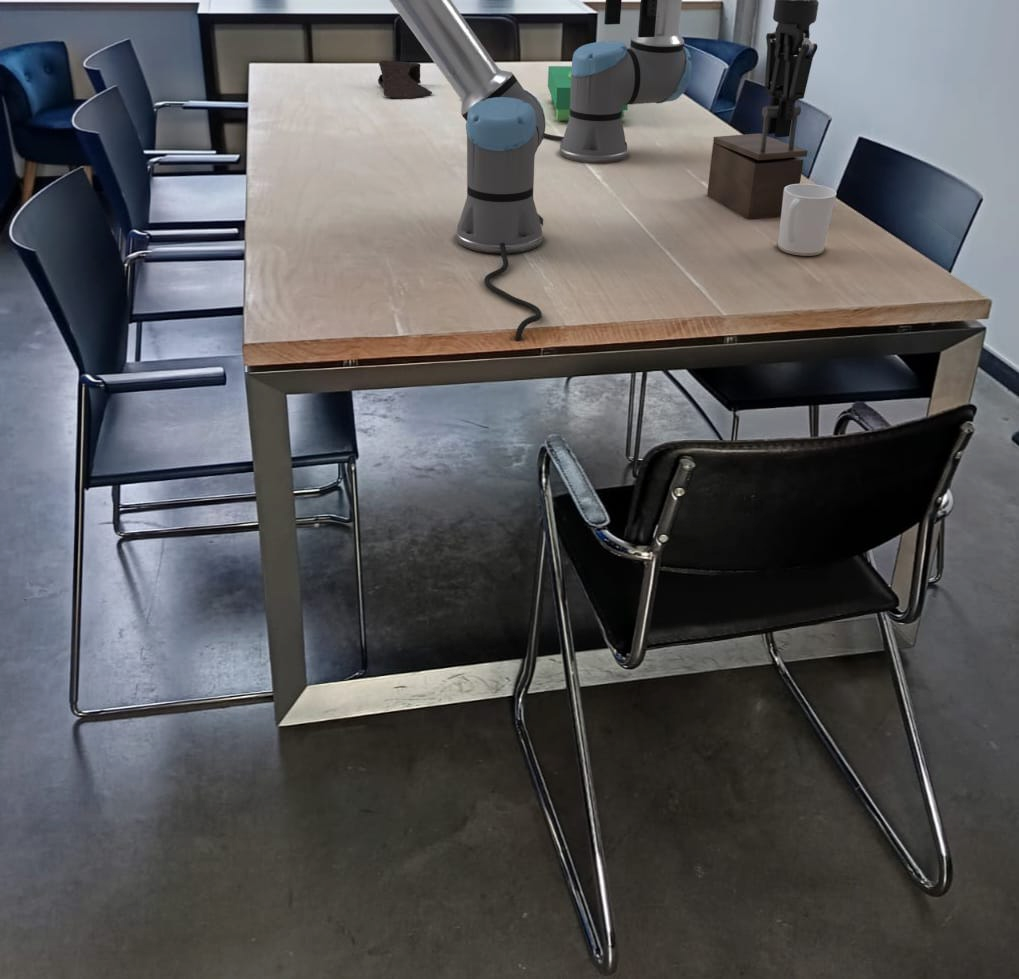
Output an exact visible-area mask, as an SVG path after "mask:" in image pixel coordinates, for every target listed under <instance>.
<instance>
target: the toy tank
mask: <svg viewBox="0 0 1019 979" xmlns="http://www.w3.org/2000/svg"><path fill="white" fill-rule="evenodd" d="M571 68H572V65H569V66H568V65H567V66H565V65H548V72H547V88H548V91H549V94H550V100H551V103H553V105H554V108H555V117H556V118H555V119H556V121H558V122H561V121H562V122H563V121H564V122H565V121H566V122H568V121H569V116H570V93H571ZM628 106H629V105H623V107H622V121H624V113H625V111H628Z"/></svg>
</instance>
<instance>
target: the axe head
mask: <svg viewBox="0 0 1019 979" xmlns="http://www.w3.org/2000/svg"><path fill="white" fill-rule="evenodd" d="M378 66H379V68H380V72H381V74H379V75H378V79H377V84H378V85H379V86H380V87H381V88H382V89H383V95H384V96H385V97H388V98H394V99H395V98H396V99H403V98H405V99H406V98H407V99H411V98H418V97H425V96H429V95H432V94H433V91H431V90H430V89H428V88H427V87H425V86H422V85H421V84H422V82H421V63H419V62H410V61H408V62H407V61H397V60H388V59H387V60H380V61H379V62H378Z"/></svg>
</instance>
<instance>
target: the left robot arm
mask: <svg viewBox="0 0 1019 979" xmlns="http://www.w3.org/2000/svg"><path fill="white" fill-rule="evenodd" d="M389 1H390V4H392V6H393V8H395V10H396V12H397V13H398V14H399V16H400V17H401V18H402V19H403V21H404V22H405V24H406V26H408V28H409V29H410V31H411V32H412V33H413V34H414V36H415V37H416V39H417V41H418V42H419V43H420V44H421V46H422V47H423V49H424V50H425V52H426V53H427V55H428V56H429V57H430V59H431V60H432V62H433V63H434V65H436V67H437V68H438V70H439V71H440V73H441V74H442V75H443V77H444V78H445V80H446V81H447V82H448V84H449V85H450V86H451V87H452V90H454V92H455V93H456V95H457V96H458V97H459V98H460V101H461V106H460V115H461V116H462V117H463V119H464V120H465V122H466V123H465V130H466V192H467V193H466V198H465V202H464V205H463V209H462V211H461V214H460V218H459V220H458V224H457V228H456V241H457V243H458V244H459V245H461V246H462V247H464V248H466V249H468V250H470V251H475V252H479V253H486V254H497V255H499V254H500V256H501V261H502V265H501V267H500V268H498V269H496V270H494V271H492V272H490V273H488V274H487V275H485V276H484V280H483V283H484V285H485V287H486V288H487V289H488V290H489V291H491V292H493V293H495V294H496V295H498V296H500V297H502V298H503V299H505V300H507V301H509V302H510V303H514V304H516V305H518V306H521V307H523V308H527V309H528V310H531V311H532V312H533V313H534V315H531V316H528V317H527V318H525V319H524V320H522V321H521V322H520V323H519V325H518V326H517V329H516V331H515V336H514V341H515V342H521V340H522V336H523V332H524V330H525V328H526V327H527V326H528V325H530V324H532V323H535V322H538V321H539V320H540V319H542V316H543V313H542V311H541V309H540V308H539V306H537V305H535V304H533V303H532V302H529V301H526V300H523V299H520V298H519V297H515V296H514V295H511V294H509V293H507V292H506V291H504V290H502V289H500V288H498V287H496V286H495V285H493V284H492V283H491V280H492V279H494V278H495V277H497V276H500V275H502V274H504V273H505V272H506V271H507V270H508V268H509V258H508V256H507V255H508V254H517V253H524V252H527V251H530V250H533V249H536V248H538V247H539V246H540V245H541V244H542V243H543V229H542V227H543V226H544V218H543V217H542V216H541V215H540V214H539V212H538V210H537V206H536V204H535V199H534V184H535V181H534V180H535V158H536V152H537V151H538V149H539V147H540V146H541V144H542V143H543V140H544V134H546V117H545V111H544V109H543V106H542V104H541V102H540V101H539V100H538V99H537V97H536V96H535V95H533V94H532V93H531V92H529V91H528V90H526V89H524V87H523V86H522V84H521V82H520V81H519V80H518V78H516V76H515V75H514V73H513V72H512V71H508V70H502V69H500V68H499V67H498V65H497V64H496V62H495V61H494V60H493V58H492V57H491V55H490V54H489V52H488V51H487V50H486V48H485V46H484V45H483V44H482V43H481V40H480V39H479V38H478V36H477V35H476V33H475V32H474V31H473V29H472V28H471V27H470V25H469V24H468V23H467V21H466V20H465V18H464V17H463V15H462V14H461V12H460V11H459V10H458V8H457V7H456V5H455V4H454V2H453V0H389ZM622 1H623V0H605V6H604V20H603V21H604V25H606V26H608V25H621V16H622ZM657 1H658V0H640V4H639V7H640V8H639V17H638V29H637V31H638V37H640V38H643V37H655V25H656V13H657ZM517 580H518V575H516V574H515V573H514V572H511V581H517Z"/></svg>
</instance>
